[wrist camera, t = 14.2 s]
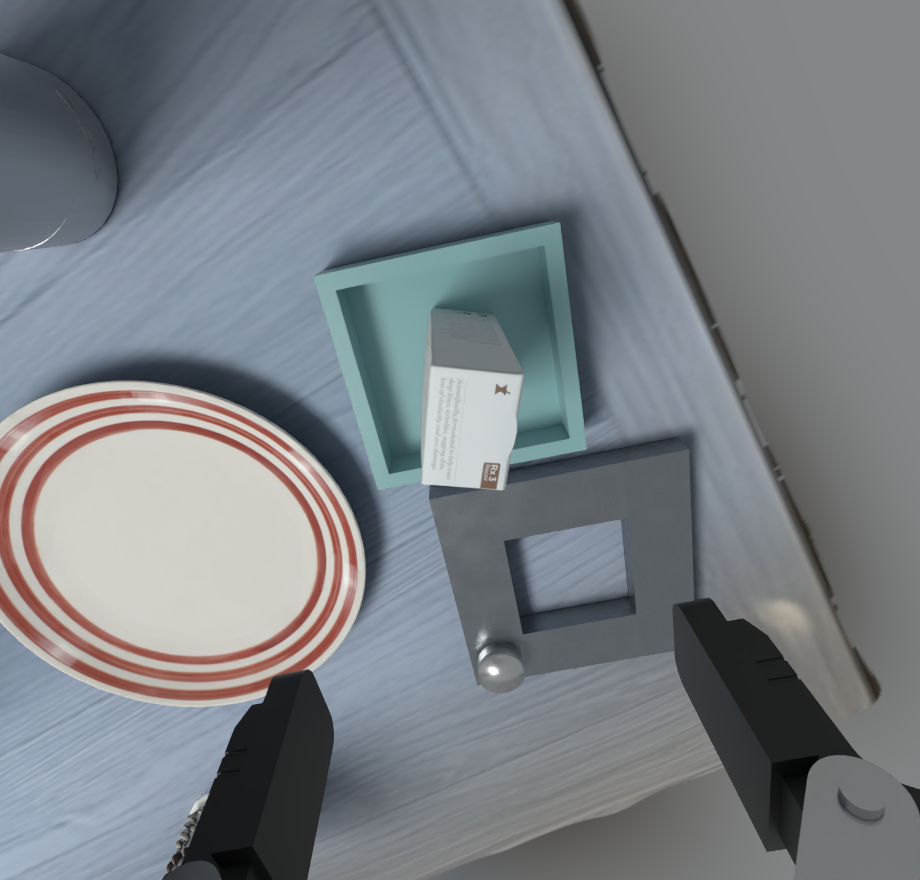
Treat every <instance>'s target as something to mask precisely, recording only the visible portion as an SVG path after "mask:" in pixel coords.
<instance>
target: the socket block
mask: <svg viewBox="0 0 920 880" xmlns="http://www.w3.org/2000/svg"><path fill="white" fill-rule="evenodd" d="M429 501H430V505H431V509H432V513H433V517H434V520H435V524H436V528H437V532H438V536H439V539H440V543H441V547H442V551H443V555H444V559H445V562H446V566H447V570H448V574H449V578H450V582H451V585H452V589H453V593H454V597H455V601H456V605H457V608H458V612H459V616H460V620H461V624H462V628H463V631H464V635H465V639H466V643H467V647H468V651H469V654H470V658H471V662H472V666H473V670H474V673H475V677H476V681H477V685H480V684H481V685H482V686H483V687H484V688H485V689H487V690H488V691H491V692H495V693H506V692H510V691H512V690H514V689H516V688H517V687H519V686H520V685H521V684H522V682H523V680H524V677H526V676H532V675H538V674H543V673H549V672H555V671H561V670H566V669H572V668H578V667H584V666H589V665H595V664H601V663H607V662H612V661H618V660H624V659H629V658H635V657H641V656H647V655H652V654H658V653H664V652H670V651H674V632H673V613H672V609H673V605H674V604H677V603H683V602H688V601H694V577H693V547H692V517H691V487H690V457H689V449H688V448H687V447H686V446H685V445H684V444H683V443H682V442H681V441H680V440H679V439H678V438H673V439H668V440H663V441H658V442H652V443H647V444H642V445H637V446H632V447H627V448H622V449H617V450H611V451H606V452H601V453H596V454H591V455H586V456H581V457H576V458H570V459H565V460H560V461H555V462H550V463H545V464H540V465H534V466H529V467H524V468H519V469H514V470H509V471H508V476H507V482H506V487H505V489H504V490H493V489H480V488H467V487H454V486H440V485H432V486H430V491H429ZM618 519H621V524H622V535H623V545H624V555H625V566H626V576H627V587H628V597H626V598H621V599H615V600H610V601H604V602H599V603H593V604H587V605H582V606H576V607H571V608H565V609H560V610H554V611H549V612H543V613H538V614H532V615H526V616H521V617H519V612H518V607H517V602H516V597H515V592H514V587H513V582H512V577H511V572H510V567H509V563H508V558H507V553H506V548H505V543H504V541H506V540H512V539H517V538H522V537H528V536H533V535H538V534H544V533H549V532H554V531H560V530H565V529H570V528H576V527H581V526H586V525H591V524H597V523H602V522H607V521H613V520H618Z"/></svg>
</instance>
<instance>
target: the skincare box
mask: <svg viewBox="0 0 920 880" xmlns="http://www.w3.org/2000/svg"><path fill="white" fill-rule="evenodd" d="M523 382H524V372H523V370H522V368H521V366H520V364H519V362H518V360H517V358H516V356H515V354H514V352H513V350H512V348H511V346H510V344H509V342H508V340H507V339H506V336H505V334H504V332H503V330H502V328H501V326H500V324H499V323H498V320H497V318H496V317H495V315H493V314H485V313H476V312H468V311H459V310H449V309H439V308H433V309H431V311H430V316H429V323H428V329H427V337H426V345H425V355H424V368H423V385H422V421H421V466H422V474H421V483H422V484H424V485H440V486H454V487H467V488H480V489H493V490H504V489H505V487H506V482H507V476H508V470H509V464H510V458H511V453H512V449H513V446H514V444H515V440H516V434H517V419H518V413H519V407H520V401H521V395H522V388H523Z"/></svg>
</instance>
